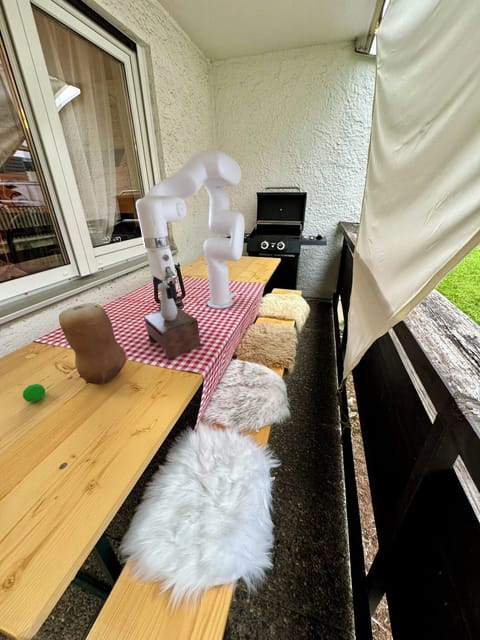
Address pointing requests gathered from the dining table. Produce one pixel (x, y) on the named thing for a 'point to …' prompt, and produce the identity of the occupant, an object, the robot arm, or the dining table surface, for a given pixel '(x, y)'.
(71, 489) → the dining table surface
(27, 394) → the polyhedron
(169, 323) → the dark walnut cube
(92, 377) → the butternut squash
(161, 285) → the salt shaker
